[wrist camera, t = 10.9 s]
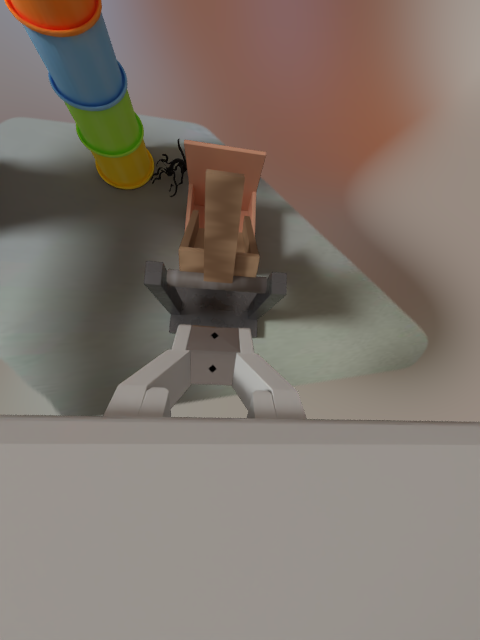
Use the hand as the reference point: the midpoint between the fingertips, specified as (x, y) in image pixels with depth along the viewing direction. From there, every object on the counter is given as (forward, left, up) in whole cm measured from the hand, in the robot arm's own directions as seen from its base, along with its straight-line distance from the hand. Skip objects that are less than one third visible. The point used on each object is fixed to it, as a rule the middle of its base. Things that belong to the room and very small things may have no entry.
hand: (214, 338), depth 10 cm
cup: (0, +21, -30) cm, 37 cm away
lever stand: (0, +7, -30) cm, 30 cm away
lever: (0, +11, -18) cm, 21 cm away
